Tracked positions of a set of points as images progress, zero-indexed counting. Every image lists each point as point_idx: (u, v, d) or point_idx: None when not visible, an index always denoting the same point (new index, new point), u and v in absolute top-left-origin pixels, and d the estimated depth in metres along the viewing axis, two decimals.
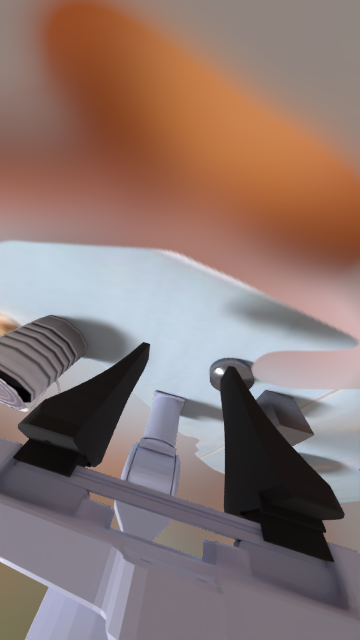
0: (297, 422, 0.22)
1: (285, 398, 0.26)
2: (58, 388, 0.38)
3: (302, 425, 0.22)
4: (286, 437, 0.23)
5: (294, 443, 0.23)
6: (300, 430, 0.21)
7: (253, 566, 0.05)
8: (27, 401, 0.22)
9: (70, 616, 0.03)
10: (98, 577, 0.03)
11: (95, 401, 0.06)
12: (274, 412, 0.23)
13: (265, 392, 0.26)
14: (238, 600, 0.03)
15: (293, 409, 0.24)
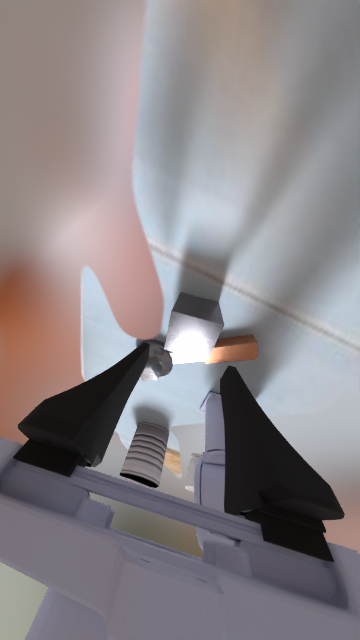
0: None
1: None
2: None
3: None
4: (194, 338, 0.15)
5: (211, 325, 0.13)
6: (169, 327, 0.15)
7: (253, 567, 0.05)
8: (156, 482, 0.33)
9: (69, 616, 0.03)
10: (98, 577, 0.03)
11: (95, 401, 0.06)
12: None
13: None
14: (238, 600, 0.03)
15: None
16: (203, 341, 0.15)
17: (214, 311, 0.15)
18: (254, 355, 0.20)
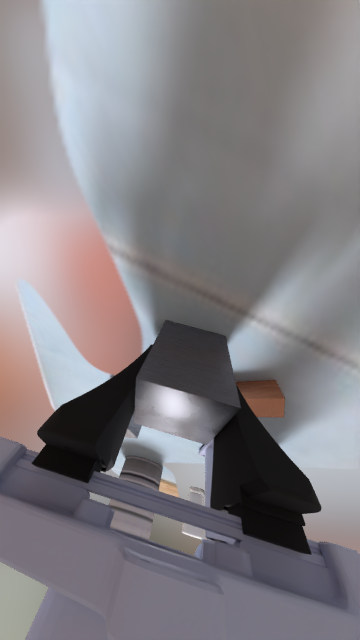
0: None
1: None
2: None
3: None
4: (184, 417, 0.08)
5: (216, 405, 0.07)
6: None
7: (253, 566, 0.05)
8: None
9: (70, 616, 0.03)
10: (98, 577, 0.03)
11: (111, 406, 0.06)
12: None
13: None
14: (238, 600, 0.03)
15: None
16: (200, 423, 0.08)
17: (219, 362, 0.09)
18: (279, 413, 0.13)
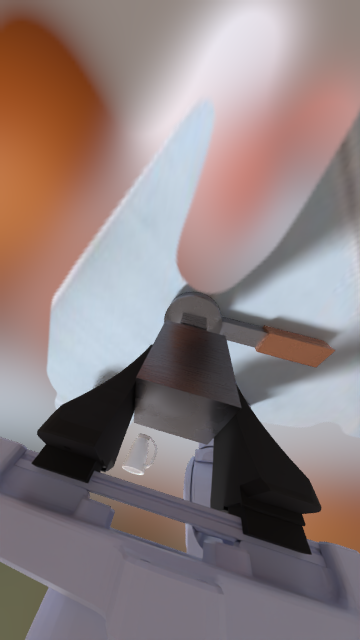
0: None
1: None
2: (153, 442, 0.43)
3: None
4: (184, 417, 0.08)
5: (216, 405, 0.07)
6: None
7: (253, 567, 0.05)
8: None
9: (70, 616, 0.03)
10: (98, 577, 0.03)
11: (111, 406, 0.06)
12: None
13: None
14: (238, 600, 0.03)
15: None
16: (200, 423, 0.08)
17: (220, 362, 0.09)
18: (317, 362, 0.17)
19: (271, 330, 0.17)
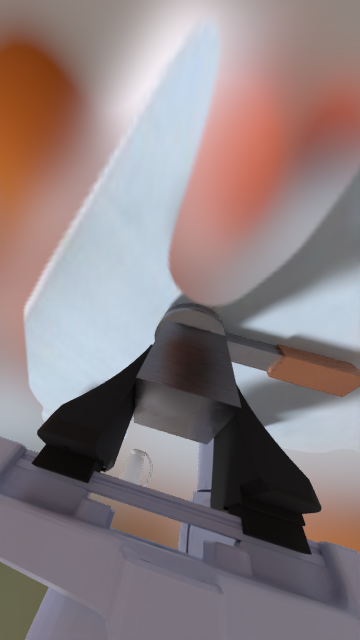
0: None
1: None
2: (149, 460, 0.39)
3: None
4: (184, 417, 0.08)
5: (216, 405, 0.07)
6: None
7: (253, 567, 0.05)
8: None
9: (70, 616, 0.03)
10: (98, 577, 0.03)
11: (111, 406, 0.06)
12: None
13: None
14: (238, 600, 0.03)
15: None
16: (200, 422, 0.08)
17: (220, 362, 0.09)
18: (344, 391, 0.14)
19: (288, 352, 0.14)
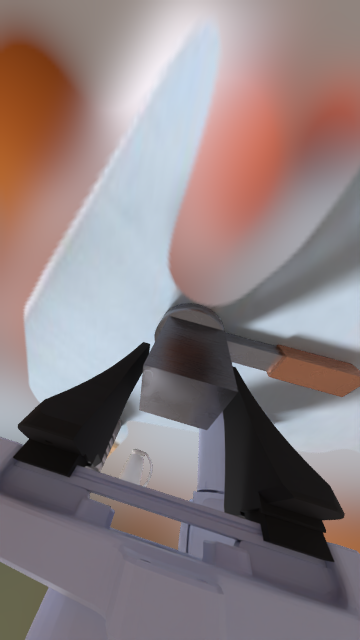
0: None
1: None
2: (149, 460, 0.39)
3: None
4: (186, 402, 0.09)
5: (215, 390, 0.07)
6: None
7: (253, 566, 0.05)
8: None
9: (70, 616, 0.03)
10: (98, 577, 0.03)
11: (95, 401, 0.06)
12: None
13: None
14: (238, 600, 0.03)
15: None
16: (201, 408, 0.09)
17: (219, 353, 0.10)
18: (344, 392, 0.14)
19: (288, 352, 0.14)
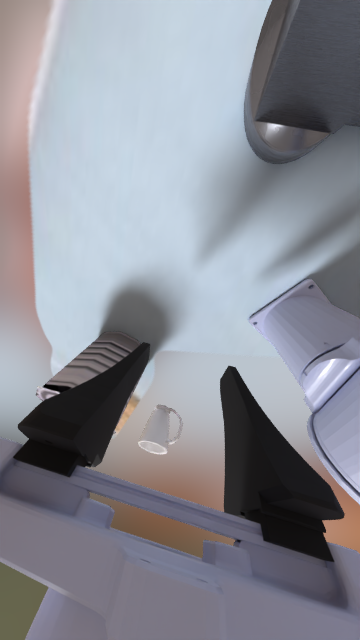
0: None
1: None
2: (176, 414, 0.33)
3: None
4: None
5: None
6: None
7: (253, 567, 0.05)
8: None
9: (70, 616, 0.03)
10: (98, 577, 0.03)
11: (95, 401, 0.06)
12: (285, 48, 0.06)
13: (259, 117, 0.09)
14: (238, 600, 0.03)
15: None
16: None
17: None
18: None
19: None
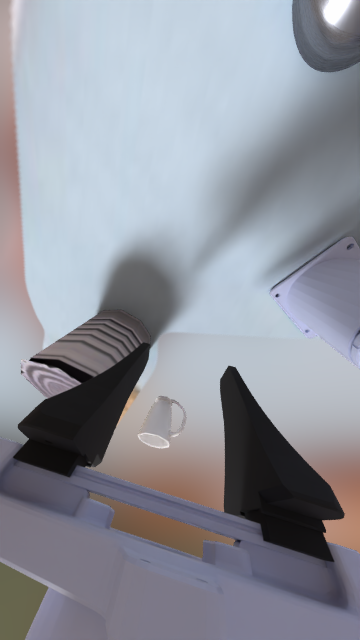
0: None
1: None
2: None
3: None
4: None
5: None
6: None
7: (253, 567, 0.05)
8: None
9: (70, 616, 0.03)
10: (98, 577, 0.03)
11: (95, 401, 0.06)
12: None
13: None
14: (238, 600, 0.03)
15: None
16: None
17: None
18: None
19: None
